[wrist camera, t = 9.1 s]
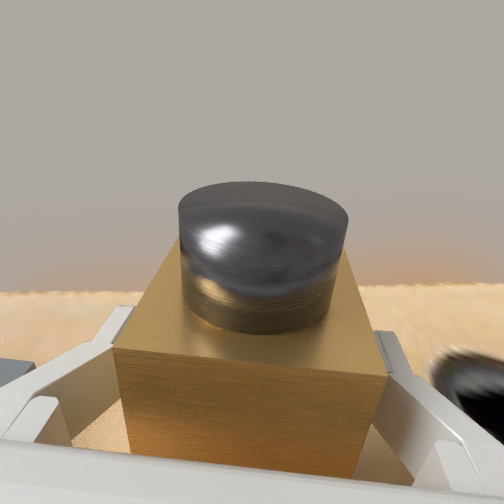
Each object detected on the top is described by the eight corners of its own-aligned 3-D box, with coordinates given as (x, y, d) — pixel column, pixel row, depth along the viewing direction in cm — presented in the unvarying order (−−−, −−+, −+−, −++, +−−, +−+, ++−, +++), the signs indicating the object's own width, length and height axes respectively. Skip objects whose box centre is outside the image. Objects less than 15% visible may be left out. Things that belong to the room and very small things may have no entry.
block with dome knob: (302, 429, 15) (357, 182, 9) (312, 582, 10) (422, 282, 5) (188, 416, 15) (179, 167, 10) (150, 562, 11) (94, 251, 5)
